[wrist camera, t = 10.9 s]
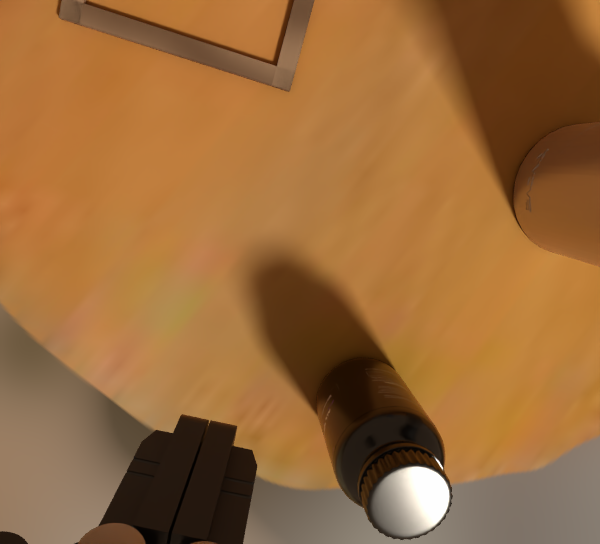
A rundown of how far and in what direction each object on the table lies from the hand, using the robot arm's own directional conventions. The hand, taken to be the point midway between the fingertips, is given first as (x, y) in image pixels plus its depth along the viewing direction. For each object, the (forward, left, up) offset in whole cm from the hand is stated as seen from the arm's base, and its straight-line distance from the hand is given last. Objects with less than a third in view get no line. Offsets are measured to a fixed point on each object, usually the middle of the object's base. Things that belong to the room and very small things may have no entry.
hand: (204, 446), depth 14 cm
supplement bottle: (-11, +8, -23) cm, 27 cm away
